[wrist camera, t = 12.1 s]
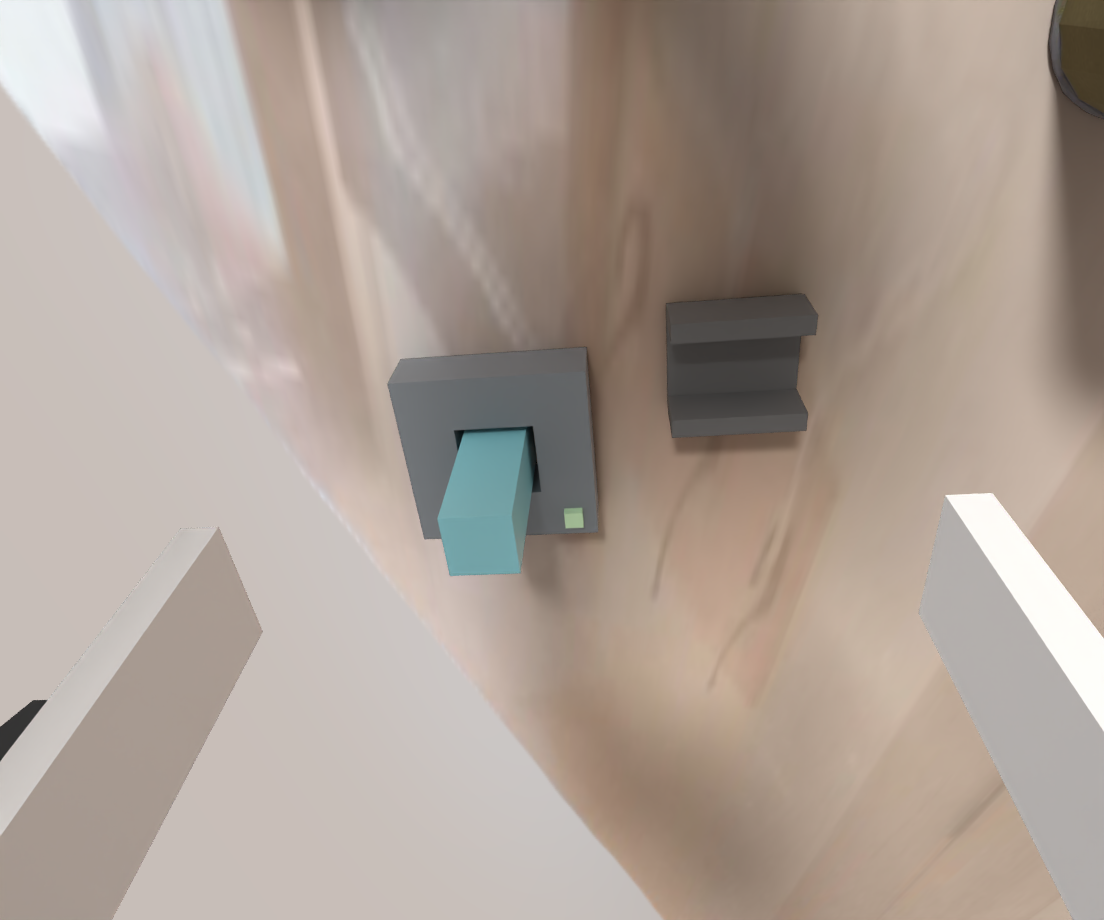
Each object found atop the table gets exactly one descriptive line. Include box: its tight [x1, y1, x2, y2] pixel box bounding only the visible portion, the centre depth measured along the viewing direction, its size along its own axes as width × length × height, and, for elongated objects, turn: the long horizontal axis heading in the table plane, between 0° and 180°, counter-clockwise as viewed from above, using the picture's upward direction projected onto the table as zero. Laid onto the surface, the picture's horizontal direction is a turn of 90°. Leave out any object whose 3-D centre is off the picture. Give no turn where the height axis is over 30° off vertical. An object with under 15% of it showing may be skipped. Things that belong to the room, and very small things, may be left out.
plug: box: [437, 426, 536, 576], centre depth 46 cm, size 4×4×12 cm
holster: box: [666, 294, 818, 438], centre depth 45 cm, size 7×8×4 cm
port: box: [388, 347, 598, 539], centre depth 49 cm, size 12×12×4 cm
